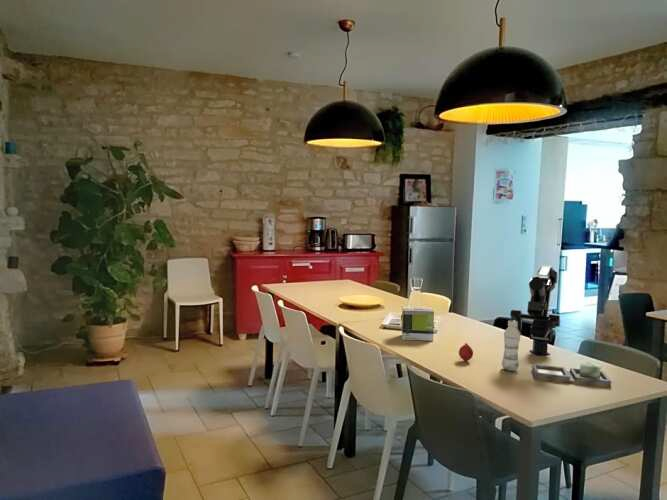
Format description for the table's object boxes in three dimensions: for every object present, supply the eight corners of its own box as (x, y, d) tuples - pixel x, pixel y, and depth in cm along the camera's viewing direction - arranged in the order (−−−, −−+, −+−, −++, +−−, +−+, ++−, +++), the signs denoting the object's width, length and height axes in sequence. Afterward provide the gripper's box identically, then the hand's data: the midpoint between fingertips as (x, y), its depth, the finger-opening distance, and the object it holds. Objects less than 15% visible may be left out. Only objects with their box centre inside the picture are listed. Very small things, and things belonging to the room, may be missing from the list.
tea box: (431, 336, 258) (432, 307, 257) (433, 341, 248) (434, 311, 247) (401, 334, 260) (402, 306, 258) (401, 340, 250) (403, 310, 248)
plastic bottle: (514, 367, 211) (517, 319, 209) (521, 373, 204) (524, 323, 202) (499, 367, 210) (501, 319, 209) (505, 372, 204) (508, 323, 202)
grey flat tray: (535, 379, 197) (536, 364, 196) (532, 370, 208) (533, 355, 208) (610, 387, 190) (611, 371, 189) (602, 377, 201) (604, 362, 201)
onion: (462, 358, 221) (463, 340, 221) (474, 361, 218) (475, 342, 217) (456, 361, 217) (457, 342, 216) (468, 364, 213) (469, 345, 213)
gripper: (511, 290, 213) (505, 324, 206) (560, 295, 204) (556, 330, 197) (514, 303, 221) (508, 336, 214) (561, 309, 212) (557, 343, 205)
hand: (532, 336), depth 207 cm, fingers open, 9 cm apart
